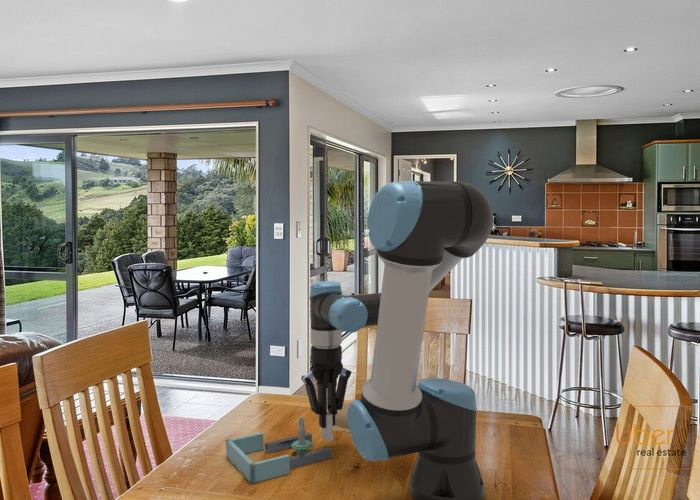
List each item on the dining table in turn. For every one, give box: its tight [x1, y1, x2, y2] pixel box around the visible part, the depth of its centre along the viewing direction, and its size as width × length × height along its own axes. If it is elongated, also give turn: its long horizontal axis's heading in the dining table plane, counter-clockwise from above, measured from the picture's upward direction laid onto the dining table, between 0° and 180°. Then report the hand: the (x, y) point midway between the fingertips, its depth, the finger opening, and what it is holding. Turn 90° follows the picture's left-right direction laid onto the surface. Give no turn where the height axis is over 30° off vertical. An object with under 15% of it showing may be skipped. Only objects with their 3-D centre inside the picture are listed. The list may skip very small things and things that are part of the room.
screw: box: [291, 416, 313, 456], centre depth 140 cm, size 9×5×5 cm
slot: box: [264, 432, 333, 469], centre depth 140 cm, size 12×12×2 cm
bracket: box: [225, 432, 290, 484], centre depth 134 cm, size 16×9×4 cm, turn 31°
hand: (327, 439), depth 144 cm, fingers closed
